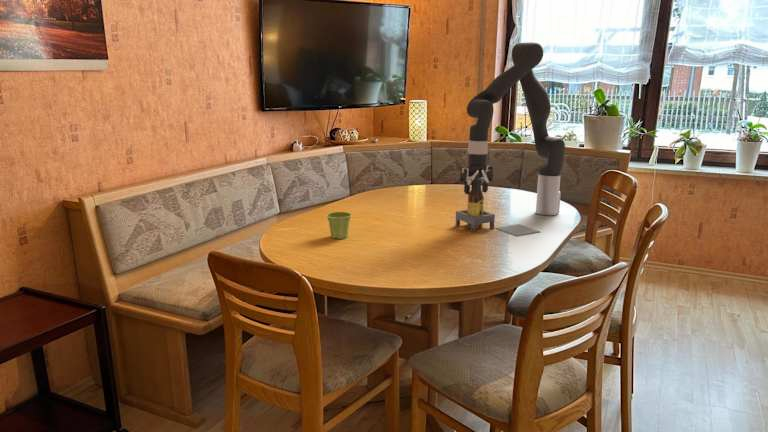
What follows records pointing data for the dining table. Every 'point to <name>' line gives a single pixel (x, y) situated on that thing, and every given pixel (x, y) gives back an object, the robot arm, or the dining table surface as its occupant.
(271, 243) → the dining table surface
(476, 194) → the sauce bottle
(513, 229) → the slate mat
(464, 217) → the grey square frame stand
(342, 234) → the plant pot
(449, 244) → the dining table surface
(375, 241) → the dining table surface
